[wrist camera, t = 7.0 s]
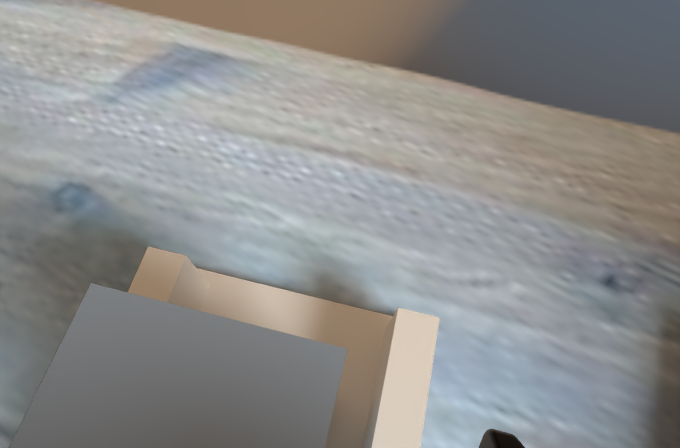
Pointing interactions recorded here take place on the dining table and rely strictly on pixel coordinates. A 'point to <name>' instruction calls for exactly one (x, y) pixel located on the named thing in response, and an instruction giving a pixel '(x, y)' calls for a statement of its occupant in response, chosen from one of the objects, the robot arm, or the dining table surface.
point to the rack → (328, 327)
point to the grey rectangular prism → (179, 381)
